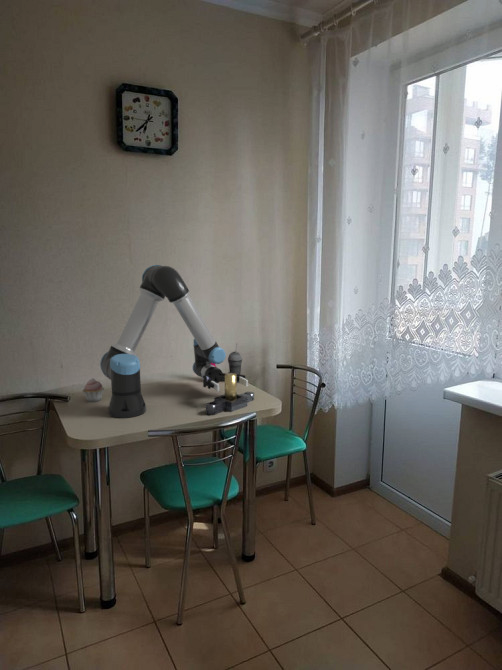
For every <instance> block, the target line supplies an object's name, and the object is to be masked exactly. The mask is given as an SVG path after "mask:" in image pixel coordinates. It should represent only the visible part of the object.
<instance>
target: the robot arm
mask: <svg viewBox="0 0 502 670" xmlns="http://www.w3.org/2000/svg"><path fill="white" fill-rule="evenodd" d="M138 290H139V291H140V294H139V297H138V298H137V300H136V302H135V305H134V306H133V309H132V310H131V313H130V314H129V317H128V319H127V321H126V323H125V325H124V327H123V328H122V331H121V333H120V335H119V337H118V339H117V341H116V343H113V344H111V345H110V347H109V349H108V351H107V352H105V353H104V354H103V355H102V357H101V359H100V363H99V366H100V370H101V372H102V373H103V375H104V376H105V377H106V378H107V379H109V380H110V382H111V383H110V384H111V397H110V401H109V406H108V408H107V409H108V415H109V416H110V417H113V418H118V417H119V419H121V418H122V419H126V418H134V417H138V416H141V415H143V414H145V413H146V411H147V404H146V402H145V399H144V397H143V395H142V385H141V382H142V381H141V363H140V362H141V361H140V359H139V357H138V356H137V354H136V350H137V349H138V345H139V344H140V342H141V339H142V338H143V335H144V333H145V332H146V330H147V327H148V325H149V323H150V322H151V320H152V319H151V318H152V317H153V315H154V313H155V310H156V309H157V307H158V304H159V303H160V302H163V301H164V300H165V298H167V300H168V303H171V304H173V305H174V307H175V308H176V309H175V310H177V312H178V314H179V316H180V317H181V319H182V321H183V322H184V323H185V325H186V327H187V328H188V330H189V332H190V334H191V335H192V336H193V350H194V351H193V352H194V354H193V355H194V362H193V365H192V371H193V373H194V374H195V375H196V376H197V377H200V378H202V381H203V383H202V385H203V386H202V387H203V388H207V389H211V388H212V389H213V390H214V391H217V392H220V384H219V383H220V382H225V374H227V373H231V372H230V371H228V372H227V373H224V372H223V371H222V370H221V369H220V368H219V367H218V366H216V367H215V366H213V365H211V363H215V365H220V364H222V363H223V362H224V361H225V360H226V351H225V350H224V348H222V347H221V346H219V344H218V342H217V341H216V339H215V338H214V336H213V334H212V333H211V331H210V328H209V327H208V326H207V324H206V321H204V319H203V317H202V315H201V314H200V312H199V310H198V308H197V306H196V305H195V303H194V301H193V300H192V298H191V296H190V290H189V287H188V286H187V284H186V282H185V281H184V279H183V278H182V276H181V274H180V273H179V272H178V271H177V270H176V269H175V268H174V267H172V266H169V265H161V264H160V265H159V264H154V265H151V266H148V267H147V268H146V269H145V270H144V271H143V272H142V275H141V284H140V286H139V288H138ZM236 380H237V382H239V383H238V384H240V385H243V386H245V387H249V380H248V379H247V378H246V375H245V374H241V373H240V374H236ZM207 381H208V382H207Z"/></svg>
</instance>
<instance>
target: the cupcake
mask: <svg viewBox="0 0 502 670" xmlns="http://www.w3.org/2000/svg"><path fill="white" fill-rule="evenodd" d="M105 389H106V388H104V387H103V384H102V383H101V381H98V380H96V379H95V378H94V377H93V378H91V379H89V380H88V381H87V383H86V384H85V385H84V389H82V392H83V394H84V396H85V400H86V401H87V402H89V403H94V402H99V401H101V400H102V399H103V392H105V391H104V390H105Z"/></svg>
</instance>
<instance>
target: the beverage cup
mask: <svg viewBox="0 0 502 670" xmlns="http://www.w3.org/2000/svg"><path fill="white" fill-rule="evenodd" d="M235 345H236V346H235V351H231V352H230V353H229V354H228V357H227V363H228V367H229V371H228V372H231V373H235V374H240V375H241V372H242V371H241V369H242V363H243V357H242V354H241V353H240V352H238V342H237V343H236V344H235ZM237 384H240V383H239V382H237Z"/></svg>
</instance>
